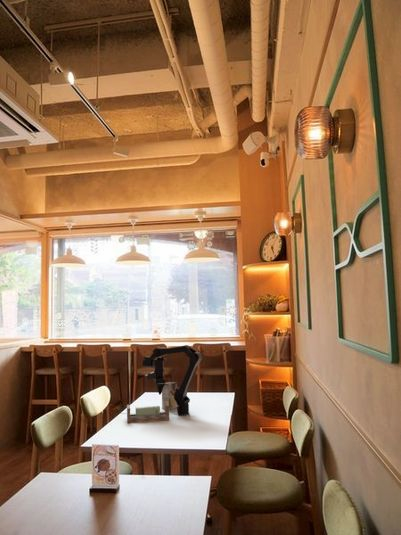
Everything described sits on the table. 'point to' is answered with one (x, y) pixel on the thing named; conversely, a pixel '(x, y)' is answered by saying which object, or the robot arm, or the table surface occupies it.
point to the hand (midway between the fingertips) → (159, 393)
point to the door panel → (147, 411)
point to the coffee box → (169, 395)
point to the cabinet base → (162, 417)
